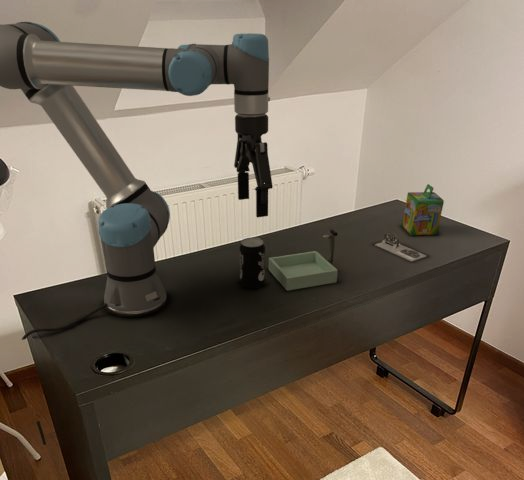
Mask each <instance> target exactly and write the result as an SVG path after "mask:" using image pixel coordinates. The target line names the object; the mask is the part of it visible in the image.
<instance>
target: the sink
mask: <svg viewBox="0 0 524 480" xmlns="http://www.w3.org/2000/svg"><path fill="white" fill-rule="evenodd" d="M268 271H269V272H270V273H271V274H272V275H273V277H274V278H275V279H276V280H277V281H278V282H279V284H281V286H282V287H283V288H284V289H285V290H286V291H294V290H299V289H300V290H301V289H306V288H311V287H317V286H323V285H328V284H335V283H338V282H337V281H338V272H339V271H338V269H337V268H336V267H335V266H333V265H331V264H330V263H329V262H328V259H325V258H324V256H323V255H322V254H320V252H318V251H317V250H313V251H307V252H301V253H299V252H298V253H293V254H288V255H280V256H272V257H268Z"/></svg>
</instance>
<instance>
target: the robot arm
mask: <svg viewBox="0 0 524 480" xmlns="http://www.w3.org/2000/svg"><path fill="white" fill-rule="evenodd" d="M269 54H270V52H269V39H268V37H267V36H266V35H265V34H263V33H254V32H253V33H252V32H251V33H250V32H249V33H235V34H234V35H233V36H232V42H231V43H230V44H203V43H198V44H197V43H189V44H181V45H179V46H178V47H177V48H175V47H171V48H167V47H153V46H135V45H121V44H120V45H119V44H104V43H103V44H102V43H85V42H71V41H69V42H67V41H61V40H60V39H59V37H58V36H57V35H56V34H55V33H54V32H53V31H52V30H50V29H49V28H48V27H46V26H44V25H43V24H40V23H36V22H32V21H19V22H16V23H7V24H3V23H2V24H0V87H2V88H4V89H7V90H21V92H22V93H23V94H24V95H25V97H26V98H27V100H28V101H29V102H30V103H31V104H36V105H39V106H40V107H41V108H42V110H43V111H44V112H45V113H46V115H47V117H48V118H49V119H50V121H51V122H52V123H53V125H54V126H55V127H56V129H57V130H58V131H59V133H60V134H61V136H62V137H63V138H64V140H65V141H66V143H67V144H68V146H69V147H70V148H71V149H72V151H73V153H74V154H75V155H76V157H77V158H78V160H79V162H81V164H82V165H83V167H84V169H86V171H87V172H88V173H89V175H90V176H91V178H92V179H93V180H94V182H95V183H96V185H97V186H98V187H99V189H100V190H101V192H102V193H103V195H104V196H105V198H106V202H105V208H106V209H104V210H103V211H102V212H101V213H100V215H99V217H98V235H99V238H100V243H101V248H102V255H103V259H104V265H105V270H106V277H107V278H106V284H105V290H104V294H103V304H102V305H100V306H99V307H96V308H95V309H93V310H91V311H90V312H88V313H86V314H85V315H83V316H81V317H79V318H76V319H75V320H72V321H70V322H69V323H67V324H65V325H62V326H58V327H40V328H35V329H32V330H29V331H27V332H26V333H25V334H24V335H23V336H22V337H21V340H22V341H24V340H26V339H27V338H28V337H29V336H30V335H32V334H34V333H39V332H56V331H62V330H65V329H68V328H69V327H73V326H74V325H76V324H77V323H79V322H81V321H83V320H85V319H87V318H89V317H91V316H93V315H94V314H96V313H98V312H99V311H101V310H102V309H105V310H106V311H107V312H108V313H109V314H111V315H113V316H117V317H123V318H139V317H144V316H145V317H146V316H149V315H152V314H154V313H156V312H158V311H160V310H161V309H163V308H164V307H165V306H166V304H167V301H168V300H167V299H168V297H167V292H166V289H165V287H164V285H163V283H162V281H161V279H160V276H159V274H158V272H157V266H156V258H155V246H156V245H157V243H159V241H160V239H161V238H162V237H163V235H164V234H165V233H166V231H167V229H168V227H169V224H170V219H171V211H170V207H169V205H168V203H167V200H165V198H164V197H163V196H162V195H161V194H159V193H158V192H156V191H153V190H151V188H150V187H149V186H148V184H147V183H146V181H145V180H142V179H137V178H136V177H135V175H134V174H133V172H132V171H131V170H130V168H129V167H128V165H127V164H126V161H124V159H123V158H122V156H121V155H120V154H119V152H118V149H116V147H115V146H114V145H113V143H112V141H111V140H110V138H109V136H108V135H107V134H106V132H105V130H103V128H102V127H101V125H100V124H99V122H98V121H97V119H96V118H95V116H94V115H93V114H92V112H91V110H90V109H89V107H88V106H87V104H86V102H85V101H84V100H83V98H82V97H81V95H80V94H79V92H78V91H77V89H76V88H75V87H90V88H108V89H109V88H110V89H127V90H142V91H143V90H144V91H160V92H161V91H162V92H172V93H179V94H180V95H183V96H187V97H195V96H198V95H201V94H202V93H204V92H205V91H206V90H208V88H209V87H210V86H211V85H233V88H234V89H233V100H234V101H233V105H234V106H233V107H234V108H233V109H234V112H235V114H236V115H235V116H234V131H235V133H236V135H237V142H236V148H235V156H234V163H233V167H234V168H235V170H236V172H237V199H238V201H242V200H250V173H249V172H250V167H249V166H250V164H251V165H252V169H253V174H254V178H255V181H256V187H255V206H256V207H255V216H256V218H264V217H269V190H272V189H273V188H274V187H273V180H272V174H271V166H270V160H269V152H268V150H269V149H268V145H269V144H268V142H267V141H266V142H265V141H264V142H262V136H263V135H266V134H267V133H268V132H269V116H268V115H267V114H268V112H269V102H270V101H271V98H270V96H269V87H270V85H269V82H270V81H269V80H270V79H269V78H270V77H269V76H270V55H269ZM35 422H36V425H37V428H38V432H39V435H40V438H41V441H42V445H43V446H45V445H47V442H46V438H45V435H44V432H43V427H42V424H41V422H40V420H36V421H35Z"/></svg>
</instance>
